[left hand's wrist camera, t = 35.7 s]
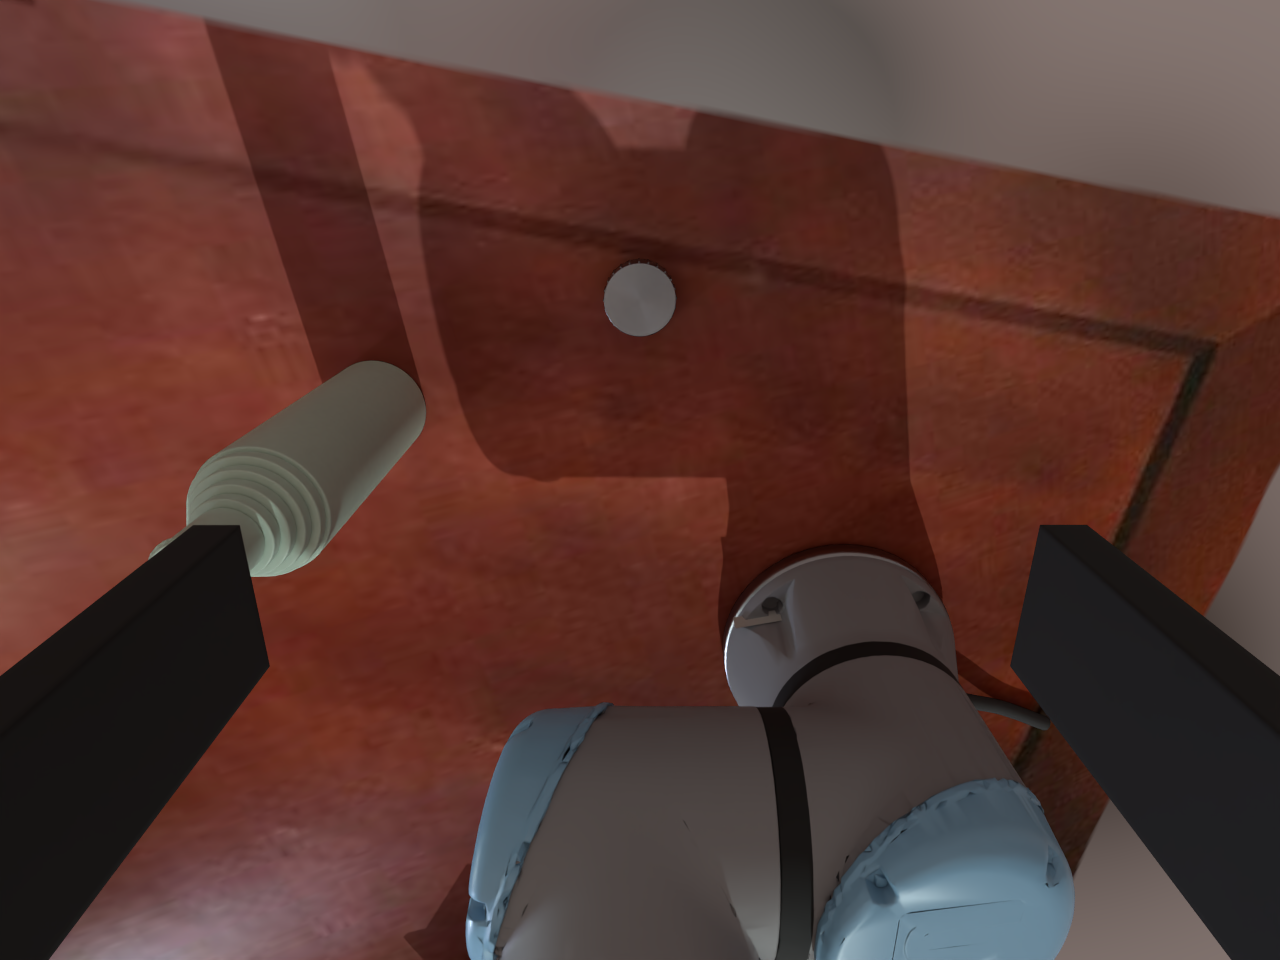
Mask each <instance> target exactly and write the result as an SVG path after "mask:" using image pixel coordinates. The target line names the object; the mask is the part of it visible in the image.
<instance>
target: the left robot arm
mask: <svg viewBox="0 0 1280 960" xmlns="http://www.w3.org/2000/svg"><path fill="white" fill-rule="evenodd" d="M723 658H724V664H725V670H726V675H727V680H728V683H729V686H730V689H731V691H732V694H733V696H734V698H735V699H736V701H737V703H738V705H739V706H614V705H613V703H600V704H598V705H597V706H591V707H575V708H559V709H545V710H541V711H538V712H535V713H533V714H531V715H530V716H528V717H527V718H525V719H524V720H523V721H522V722H521V723H520V724H519V725H518V726H517V727H516V728H515V730H514V731H513V733H512V734H511V736H510V738H509V740H508V742H507V743H506V745H505V747H504V749H503V751H502V753H501V756H500V758H499V761H498V763H497V766H496V768H495V771H494V774H493V777H492V780H491V783H490V787H489V790H488V794H487V797H486V801H485V804H484V808H483V812H482V817H481V821H480V825H479V829H478V834H477V839H476V845H475V850H474V855H473V860H472V867H471V873H470V881H469V895H470V896H471V898H470V902H469V907H468V913H467V919H466V944H467V950H468V954H469V957H470V959H471V960H1054V959H1055V957H1056V956H1057V954H1058V953H1059V951H1060V950H1061V948H1062V946H1063V944H1064V942H1065V939H1066V937H1067V935H1068V932H1069V929H1070V926H1071V923H1072V919H1073V914H1074V903H1075V891H1074V884H1073V878H1072V874H1071V870H1070V868H1069V865H1068V862H1067V860H1066V858H1065V856H1064V854H1063V852H1062V850H1061V848H1060V846H1059V844H1058V842H1057V840H1056V838H1055V836H1054V834H1053V832H1052V830H1051V828H1050V826H1049V824H1048V822H1047V820H1046V818H1045V816H1044V810H1043V809H1042V807H1041V804H1040V802H1039V801H1038V799H1037V798H1036V796H1035V795H1034V794H1033V793H1032V792H1031V791H1030V790H1029V788H1026V787H1025V785H1024V783H1023V782H1022V780H1021V779H1020V777H1019V776H1018V774H1017V772H1016V771H1015V769H1014V768H1013V766H1012V765H1011V763H1010V762H1009V760H1008V758H1007V757H1006V755H1005V754H1004V752H1003V751H1002V749H1001V747H1000V746H999V744H998V743H997V741H996V740H995V738H994V736H993V735H992V733H991V732H990V730H989V729H988V727H987V726H986V724H985V722H984V721H983V719H982V718H981V716H980V715H979V713H978V711H977V710H980V711H986V712H991V713H996V714H1000V715H1003V716H1006V717H1009V718H1012V719H1015V720H1018V721H1021V722H1023V723H1026V724H1028V725H1031V726H1034V727H1036V728H1039V729H1042V730H1047V729H1048V728H1049V727H1050V723H1051V722H1050V720H1051V721H1052V722H1053V724H1054V725H1055V726H1056V728H1057V729H1058V730H1059V732H1060V733H1061V734H1062V736H1063V737H1064V738H1065V740H1066V741H1067V742H1068V744H1069V745H1070V746H1071V747H1072V749H1073V750H1074V751H1075V753H1076V754H1077V755H1078V757H1079V758H1080V759H1081V761H1082V762H1083V763H1084V765H1085V766H1086V767H1087V769H1088V770H1089V771H1090V773H1091V774H1092V775H1093V777H1094V778H1095V779H1096V781H1097V782H1098V783H1099V785H1100V786H1101V787H1102V789H1103V790H1104V791H1105V793H1106V794H1107V795H1108V797H1109V798H1110V799H1111V801H1112V802H1113V803H1114V805H1115V806H1116V807H1117V809H1118V810H1119V811H1120V812H1121V814H1122V815H1123V817H1124V818H1125V819H1126V821H1127V822H1128V823H1129V824H1130V826H1131V827H1132V828H1133V830H1134V831H1135V832H1136V834H1137V835H1138V836H1139V838H1140V839H1141V840H1142V842H1143V843H1144V844H1145V846H1146V847H1147V848H1148V850H1149V851H1150V852H1151V854H1152V855H1153V856H1154V858H1155V859H1156V860H1157V862H1158V863H1159V864H1160V866H1161V867H1162V868H1163V870H1164V871H1165V872H1166V874H1167V875H1168V876H1169V878H1170V879H1171V880H1172V882H1173V883H1174V884H1175V886H1176V887H1177V888H1178V889H1179V891H1180V892H1181V893H1182V895H1183V896H1184V898H1185V899H1186V900H1187V901H1188V903H1189V904H1190V905H1191V907H1192V908H1193V909H1194V911H1195V912H1196V913H1197V915H1198V916H1199V917H1200V919H1201V920H1202V921H1203V923H1204V924H1205V925H1206V927H1207V928H1208V929H1209V931H1210V932H1211V933H1212V935H1213V936H1214V937H1215V939H1216V940H1217V941H1218V943H1219V944H1220V945H1221V947H1222V948H1223V949H1224V951H1225V952H1226V953H1227V955H1228V956H1229V957H1230V959H1231V960H1280V676H1279V675H1278V674H1276V673H1275V672H1274V671H1272V670H1271V669H1270V668H1269V667H1267V666H1266V665H1265V664H1264V663H1262V662H1261V661H1260V660H1258V659H1257V658H1256V657H1255V656H1253V655H1252V654H1251V653H1249V652H1248V651H1247V650H1246V649H1244V648H1243V647H1242V646H1241V645H1239V644H1238V643H1237V642H1235V641H1234V640H1233V639H1232V638H1230V637H1229V636H1228V635H1227V634H1225V633H1224V632H1223V631H1221V630H1220V629H1219V628H1218V627H1216V626H1215V625H1214V624H1213V623H1211V622H1210V621H1209V620H1207V619H1206V618H1205V617H1204V616H1202V615H1201V614H1200V613H1198V612H1197V611H1196V610H1195V609H1193V608H1192V607H1191V606H1190V605H1188V604H1187V603H1186V602H1184V601H1183V600H1182V599H1181V598H1179V597H1178V596H1177V595H1176V594H1174V593H1173V592H1172V591H1170V590H1169V589H1168V588H1167V587H1165V586H1164V585H1163V584H1161V583H1160V582H1159V581H1158V580H1156V579H1155V578H1154V577H1153V576H1151V575H1150V574H1149V573H1147V572H1146V571H1145V570H1144V569H1142V568H1141V567H1140V566H1139V565H1137V564H1136V563H1135V562H1133V561H1132V560H1131V559H1130V558H1128V557H1127V556H1126V555H1125V554H1123V553H1122V552H1121V551H1119V550H1118V549H1117V548H1116V547H1114V546H1113V545H1112V544H1110V543H1109V542H1108V541H1107V540H1105V539H1104V538H1103V537H1102V536H1100V535H1099V534H1098V533H1096V532H1095V531H1094V530H1093V529H1091V528H1090V527H1089V526H1088V525H1040V528H1039V533H1038V538H1037V542H1036V547H1035V552H1034V556H1033V561H1032V566H1031V571H1030V575H1029V580H1028V585H1027V589H1026V594H1025V599H1024V604H1023V608H1022V613H1021V618H1020V623H1019V627H1018V632H1017V637H1016V641H1015V646H1014V651H1013V656H1012V660H1011V665H1010V666H1011V668H1012V669H1013V670H1014V672H1015V673H1016V674H1017V676H1018V677H1019V678H1020V680H1021V681H1022V682H1023V684H1024V685H1025V686H1026V688H1027V689H1028V690H1029V692H1030V693H1031V694H1032V696H1033V697H1034V698H1035V700H1036V701H1037V702H1038V704H1039V705H1040V706H1041V708H1042V709H1043V710H1044V712H1045V713H1046V714H1047V716H1048V717H1049V718H1050V719H1049V718H1048V717H1046V716H1044V715H1041V714H1038V713H1036V712H1033V711H1031V710H1028V709H1025V708H1023V707H1020V706H1017V705H1015V704H1012V703H1009V702H1005V701H1002V700H998V699H994V698H989V697H983V696H977V695H972V694H967V693H965V691H964V690H963V689H962V687H961V685H960V684H959V682H958V672H957V662H956V652H955V642H954V634H953V629H952V626H951V622H950V619H949V616H948V613H947V611H946V608H945V606H944V604H943V603H942V601H941V599H940V598H939V596H938V595H937V593H936V592H935V591H934V589H933V588H932V586H931V585H930V584H929V582H928V581H927V580H926V579H925V577H924V576H923V575H922V574H921V573H920V572H919V571H918V570H916V569H915V568H914V567H913V566H911V565H910V564H909V563H907V562H905V561H904V560H902V559H901V558H899V557H897V556H895V555H893V554H890V553H888V552H885V551H882V550H879V549H875V548H872V547H866V546H860V545H827V546H822V547H816V548H812V549H808V550H804V551H802V552H799V553H796V554H793V555H791V556H789V557H787V558H785V559H782V560H781V561H779V562H777V563H775V564H774V565H772V566H771V567H769V568H768V569H766V570H765V571H764V572H762V573H761V574H760V575H759V576H758V577H756V578H755V579H754V580H753V581H752V582H751V583H750V584H749V585H748V586H747V588H746V589H745V590H744V591H743V592H742V594H741V595H740V597H739V598H738V600H737V601H736V603H735V605H734V606H733V608H732V610H731V612H730V615H729V617H728V620H727V623H726V627H725V631H724V637H723ZM269 666H270V665H269V660H268V656H267V651H266V646H265V641H264V637H263V632H262V627H261V623H260V618H259V613H258V608H257V604H256V599H255V594H254V589H253V585H252V580H251V575H250V571H249V566H248V561H247V556H246V552H245V547H244V542H243V538H242V533H241V528H240V525H192V526H191V527H190V528H189V529H187V530H186V531H185V532H184V533H182V534H181V535H180V536H178V537H177V538H176V539H175V540H173V541H172V542H171V543H170V544H168V545H167V546H166V547H164V548H163V549H162V550H161V551H159V552H158V553H157V554H155V555H154V556H153V557H152V558H150V559H149V560H148V561H147V562H145V563H144V564H143V565H141V566H140V567H139V568H138V569H136V570H135V571H134V572H133V573H131V574H130V575H129V576H127V577H126V578H125V579H124V580H122V581H121V582H120V583H119V584H117V585H116V586H115V587H113V588H112V589H111V590H110V591H108V592H107V593H106V594H104V595H103V596H102V597H101V598H99V599H98V600H97V601H96V602H94V603H93V604H92V605H90V606H89V607H88V608H87V609H85V610H84V611H83V612H82V613H80V614H79V615H78V616H76V617H75V618H74V619H73V620H71V621H70V622H69V623H67V624H66V625H65V626H64V627H62V628H61V629H60V630H59V631H57V632H56V633H55V634H53V635H52V636H51V637H50V638H48V639H47V640H46V641H45V642H43V643H42V644H41V645H39V646H38V647H37V648H36V649H34V650H33V651H32V652H31V653H29V654H28V655H27V656H25V657H24V658H23V659H22V660H20V661H19V662H18V663H16V664H15V665H14V666H13V667H11V668H10V669H9V670H8V671H6V672H5V673H4V674H2V675H1V676H0V960H49V959H50V957H51V956H52V955H53V953H54V952H55V951H56V949H57V948H58V947H59V945H60V944H61V943H62V941H63V940H64V939H65V937H66V936H67V935H68V933H69V932H70V931H71V929H72V928H73V927H74V925H75V924H76V923H77V921H78V920H79V919H80V917H81V916H82V915H83V913H84V912H85V911H86V909H87V908H88V907H89V905H90V904H91V903H92V902H93V900H94V899H95V898H96V896H97V895H98V894H99V892H100V891H101V890H102V888H103V887H104V886H105V884H106V883H107V882H108V880H109V879H110V878H111V876H112V875H113V874H114V872H115V871H116V870H117V868H118V867H119V866H120V864H121V863H122V862H123V860H124V859H125V858H126V856H127V855H128V854H129V852H130V851H131V850H132V848H133V847H134V846H135V844H136V843H137V842H138V840H139V839H140V838H141V836H142V835H143V834H144V832H145V831H146V830H147V828H148V827H149V826H150V824H151V823H152V822H153V821H154V819H155V818H156V817H157V815H158V814H159V813H160V811H161V810H162V809H163V807H164V806H165V805H166V803H167V802H168V801H169V799H170V798H171V797H172V795H173V794H174V793H175V791H176V790H177V789H178V787H179V786H180V785H181V783H182V782H183V781H184V779H185V778H186V777H187V775H188V774H189V773H190V771H191V770H192V769H193V767H194V766H195V765H196V763H197V762H198V761H199V759H200V758H201V757H202V755H203V754H204V753H205V751H206V750H207V749H208V747H209V746H210V745H211V744H212V742H213V741H214V740H215V738H216V737H217V736H218V734H219V733H220V732H221V730H222V729H223V728H224V726H225V725H226V724H227V722H228V721H229V720H230V718H231V717H232V716H233V714H234V713H235V712H236V710H237V709H238V708H239V706H240V705H241V704H242V702H243V701H244V700H245V698H246V697H247V696H248V694H249V693H250V692H251V690H252V689H253V688H254V686H255V685H256V684H257V682H258V681H259V680H260V678H261V677H262V676H263V674H264V673H265V672H266V670H267V669H268V668H269Z"/></svg>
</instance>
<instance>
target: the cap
mask: <svg viewBox="0 0 1280 960" xmlns="http://www.w3.org/2000/svg"><path fill="white" fill-rule="evenodd" d="M604 292H605V293H604V299H603V301H604V307H605V311H606V313H607V316H608V318H609V319H610V321H611V322H612V324H613V325H614V326H615V327H616V328H618V329H619V330H620V331H622V332H624V333H626V334H628V335H632V336H648V335H651V334H654V333H656V332H658V331H660V330H661V329H662V328H663V327H665V326H666V325H667V323H668V322H669V321H670V319H671V318H672V315H673V313H674V310H675V308H676V299H677V297H676V293H675V286H674V284H673V283H672V279H671V276H669V275H668V273H667V272H666V270H665V268H664V269H663V268H662V267H661V266H659V265H658V263H654V262H652V261H649V259H648V260H644V259H640V258H638V259H637V260H629V261H628V262H626V263H624V264H620V266H619V267H618V268H617V269H616V270H613V273H612V275H611V276H610V278H608V280H607V286H605V289H604Z"/></svg>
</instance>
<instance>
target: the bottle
mask: <svg viewBox="0 0 1280 960" xmlns="http://www.w3.org/2000/svg"><path fill="white" fill-rule="evenodd" d="M425 419H426V406H425V401H424V398H423V395H422V393H421V391H420V389H419V387H418V386H417V384H416V383H415V382H414V380H413V379H412V378H411V377H410V376H409V375H408V374H407V373H405V372H404V371H403V370H401V369H399V368H398V367H396V366H394V365H391V364H389V363H385V362H381V361H363V362H358V363H355V364H353V365H351V366H349V367H347V368H346V369H344V370H343V371H341V372H340V373H338V374H337V375H335V376H334V377H332V378H331V379H329V380H328V381H326V382H325V383H323V384H321V385H320V386H318V387H317V388H315V389H314V390H312V391H311V392H309V393H308V394H306V395H305V396H303V397H302V398H300V399H299V400H297V401H296V402H294V403H293V404H291V405H290V406H288V407H287V408H285V409H284V410H282V411H281V412H279V413H277V414H276V415H274V416H273V417H271V418H270V419H268V420H267V421H265V422H264V423H262V424H261V425H259V426H258V427H256V428H255V429H253V430H252V431H250V432H249V433H247V434H246V435H244V436H243V437H241V438H240V439H238V440H237V441H235V442H233V443H232V444H230V445H229V446H227V447H226V448H224V449H223V450H221V451H220V452H218V453H217V454H215V455H214V456H212V457H211V458H210V459H208V460H207V461H206V462H205V463H204V464H203V465H202V467H201V468H200V470H199V471H198V472H197V475H196V477H195V478H194V480H193V481H192V483H191V486H190V488H189V491H188V495H187V502H186V507H187V511H186V514H187V520H186V521H187V526H186V527H185V528H184V529H182V530H181V531H180V532H179V533H177V534H176V535H175V536H173V537H172V538H170V539H167V540H165V541H163V542H162V543H160V544H159V545H157V546H156V547H155V549H154V550H153V551H152V552H151V554H150V557H149V559H150V558H152V557H153V556H154V555H155V554H157V553H158V552H159V551H161V550H162V549H163V548H164V547H166V546H167V545H168V544H170V543H171V542H172V541H173V540H175V539H176V538H177V537H178V536H180V535H181V534H182V533H184V532H185V531H186V530H187V529H189V528H190V527H191V526H192V525H240V528H241V533H242V538H243V542H244V547H245V552H246V556H247V561H248V566H249V571H250V575H251V577H253V576H255V577H259V576H277V575H282V574H285V573H288V572H291V571H293V570H295V569H297V568H300V567H302V566H304V565H306V564H307V563H309V562H310V561H312V560H313V559H314V558H315V557H316V556H318V555H319V553H320V552H321V551H322V550H323V549H324V548H325V546H326V545H327V544H328V543H329V542H330V540H331V539H332V538H333V537H334V536H335V535H336V533H337V532H338V531H339V530H340V529H341V527H342V526H343V525H344V524H345V523H346V522H347V520H348V519H349V518H350V517H351V516H352V514H353V513H354V512H355V511H356V510H357V509H358V507H359V506H360V505H361V504H362V503H363V501H364V500H365V499H366V498H367V497H368V496H369V494H370V493H371V492H372V491H373V490H374V488H375V487H376V486H377V485H378V484H379V483H380V481H381V480H382V479H383V478H384V477H385V475H386V474H387V473H388V472H389V471H390V470H391V468H392V467H393V466H394V465H395V464H396V462H397V461H398V460H399V459H400V458H401V457H402V455H403V454H404V453H405V452H406V451H407V449H408V448H409V447H410V446H411V445H412V444H413V442H414V441H415V440H416V439H417V437H418V436H419V435H420V433H421V431H422V429H423V427H424V424H425Z"/></svg>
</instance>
